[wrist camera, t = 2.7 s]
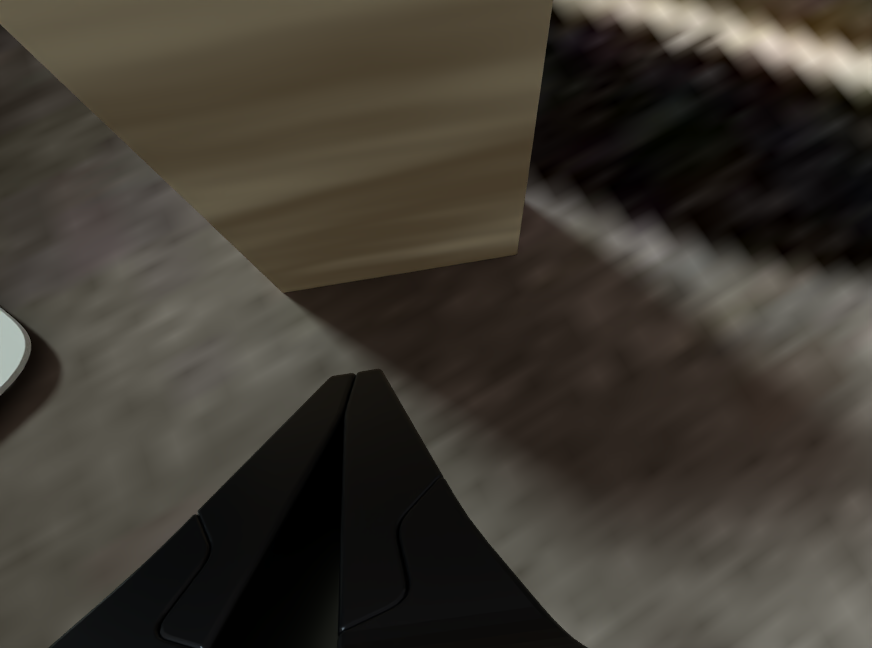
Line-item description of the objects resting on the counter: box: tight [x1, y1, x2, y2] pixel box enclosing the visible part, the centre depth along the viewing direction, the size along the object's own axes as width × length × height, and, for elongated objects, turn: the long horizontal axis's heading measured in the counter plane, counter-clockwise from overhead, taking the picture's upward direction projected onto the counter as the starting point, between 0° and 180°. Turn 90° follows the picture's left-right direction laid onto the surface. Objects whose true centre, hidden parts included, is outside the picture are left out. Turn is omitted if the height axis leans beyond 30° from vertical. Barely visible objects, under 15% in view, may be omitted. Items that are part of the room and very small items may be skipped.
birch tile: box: [0, 0, 553, 293], centre depth 13 cm, size 2×8×12 cm, turn 98°
